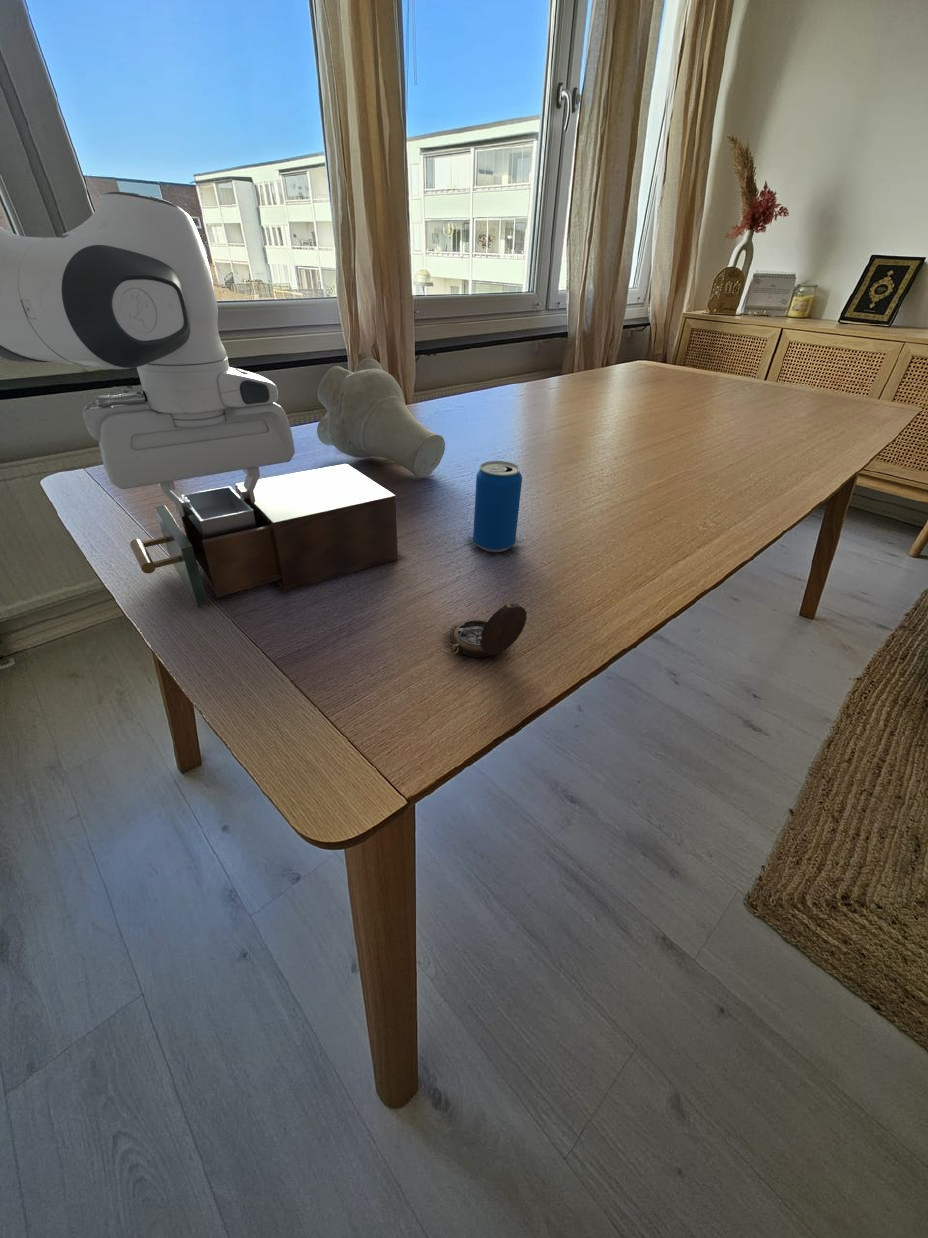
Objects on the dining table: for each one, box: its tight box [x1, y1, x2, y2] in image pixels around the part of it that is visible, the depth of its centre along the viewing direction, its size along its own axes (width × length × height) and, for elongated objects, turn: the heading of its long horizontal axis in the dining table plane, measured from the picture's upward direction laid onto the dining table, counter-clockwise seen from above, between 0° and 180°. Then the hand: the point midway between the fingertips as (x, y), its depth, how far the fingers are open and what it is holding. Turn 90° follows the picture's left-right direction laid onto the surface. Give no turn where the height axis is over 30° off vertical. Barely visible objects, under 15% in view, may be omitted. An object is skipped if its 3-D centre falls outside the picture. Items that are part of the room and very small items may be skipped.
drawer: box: [129, 503, 281, 609], centre depth 68 cm, size 20×13×8 cm
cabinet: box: [234, 463, 399, 593], centre depth 74 cm, size 17×15×10 cm
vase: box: [316, 358, 446, 479], centre depth 103 cm, size 22×22×28 cm
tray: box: [180, 485, 257, 539], centre depth 66 cm, size 6×9×2 cm, turn 36°
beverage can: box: [472, 460, 523, 553], centre depth 78 cm, size 6×6×12 cm
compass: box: [441, 601, 528, 658], centre depth 58 cm, size 8×8×7 cm
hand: (217, 508), depth 65 cm, fingers closed on tray, 6 cm apart
